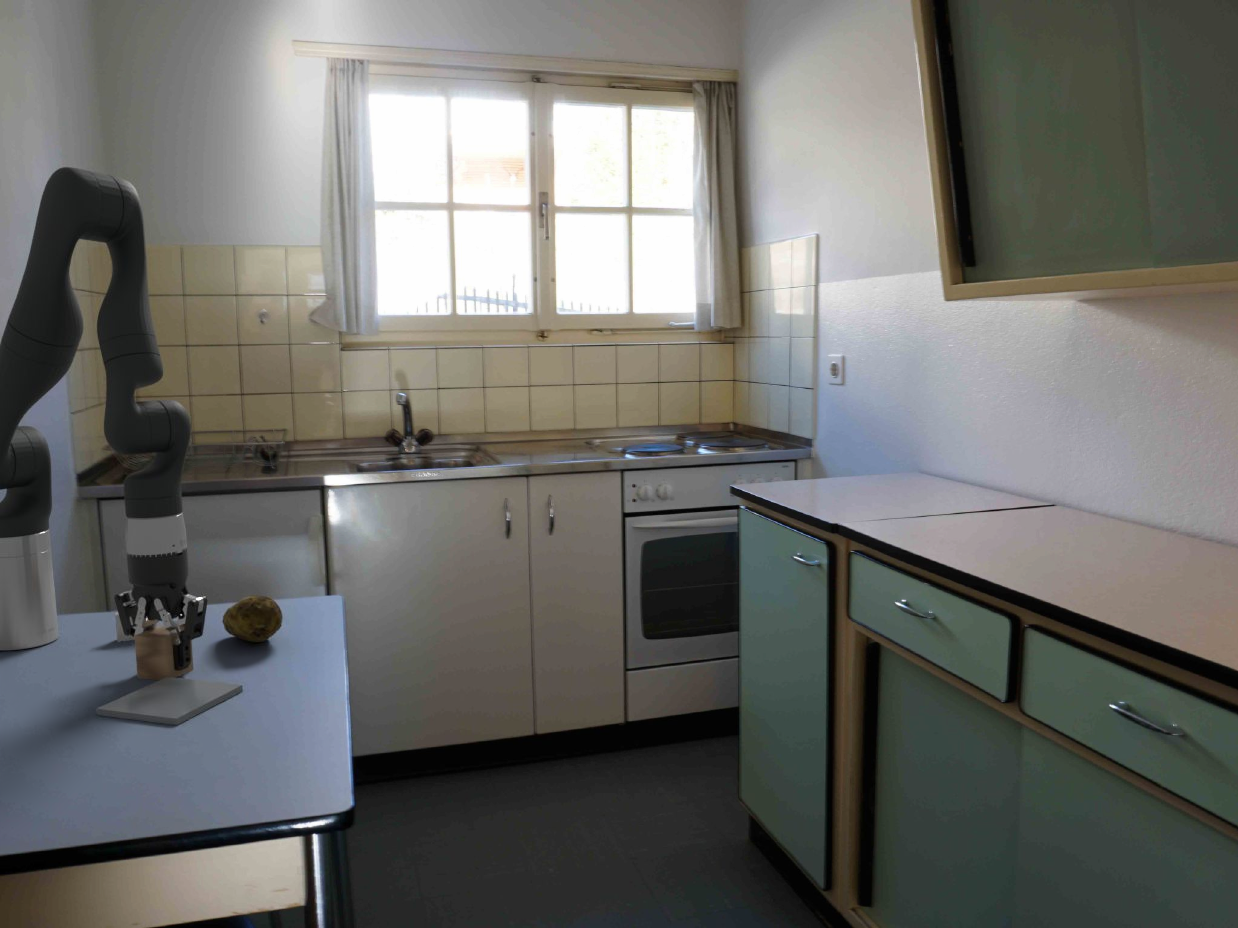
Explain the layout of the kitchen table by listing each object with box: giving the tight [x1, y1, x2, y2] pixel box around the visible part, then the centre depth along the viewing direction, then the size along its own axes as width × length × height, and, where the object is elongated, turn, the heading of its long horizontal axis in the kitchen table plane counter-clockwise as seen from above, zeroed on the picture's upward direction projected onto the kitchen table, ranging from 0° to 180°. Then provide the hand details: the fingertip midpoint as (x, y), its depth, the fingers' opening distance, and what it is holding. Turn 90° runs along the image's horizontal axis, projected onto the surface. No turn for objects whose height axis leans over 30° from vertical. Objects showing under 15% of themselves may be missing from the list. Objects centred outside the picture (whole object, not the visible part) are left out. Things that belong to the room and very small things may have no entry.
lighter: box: [115, 611, 135, 643], centre depth 153 cm, size 7×2×8 cm, turn 118°
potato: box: [222, 595, 283, 643], centre depth 149 cm, size 8×13×8 cm, turn 24°
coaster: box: [96, 677, 244, 726], centre depth 125 cm, size 12×12×1 cm
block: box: [134, 624, 194, 681], centre depth 136 cm, size 5×5×6 cm
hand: (165, 666), depth 136 cm, fingers closed on block, 5 cm apart
